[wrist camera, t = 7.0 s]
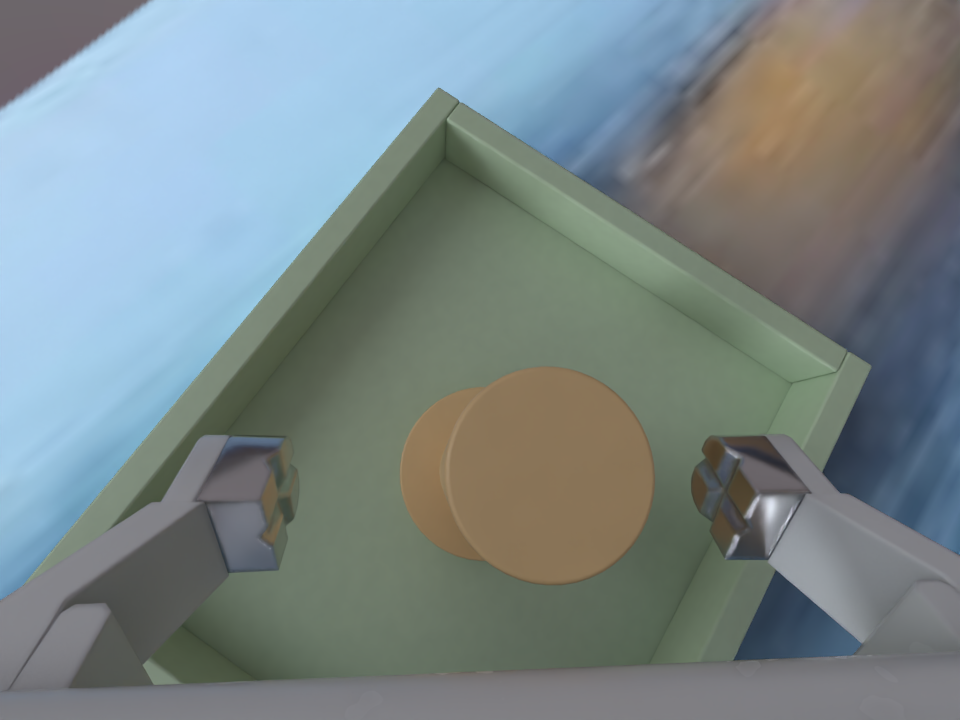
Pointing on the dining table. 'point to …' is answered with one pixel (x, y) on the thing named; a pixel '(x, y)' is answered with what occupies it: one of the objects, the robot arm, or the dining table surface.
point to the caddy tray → (469, 321)
